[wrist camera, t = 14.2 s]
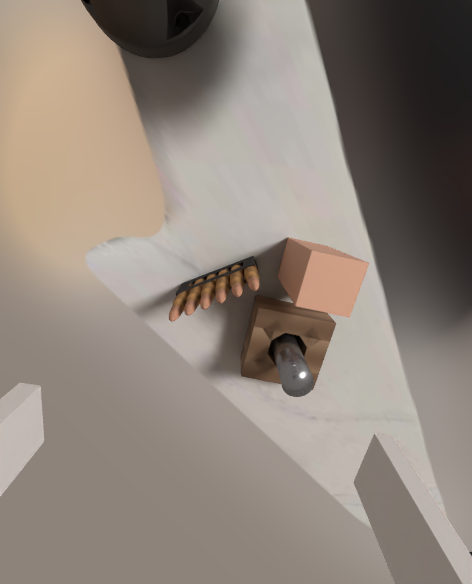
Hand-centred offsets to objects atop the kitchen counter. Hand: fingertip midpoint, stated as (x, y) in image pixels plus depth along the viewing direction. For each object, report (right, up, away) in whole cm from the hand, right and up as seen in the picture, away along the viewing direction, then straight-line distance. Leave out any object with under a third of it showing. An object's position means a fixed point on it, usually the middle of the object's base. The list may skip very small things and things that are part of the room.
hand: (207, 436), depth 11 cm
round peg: (+8, 0, +30) cm, 31 cm away
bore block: (+8, 0, +30) cm, 31 cm away
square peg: (+10, +10, +26) cm, 30 cm away
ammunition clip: (-1, +8, +27) cm, 28 cm away
